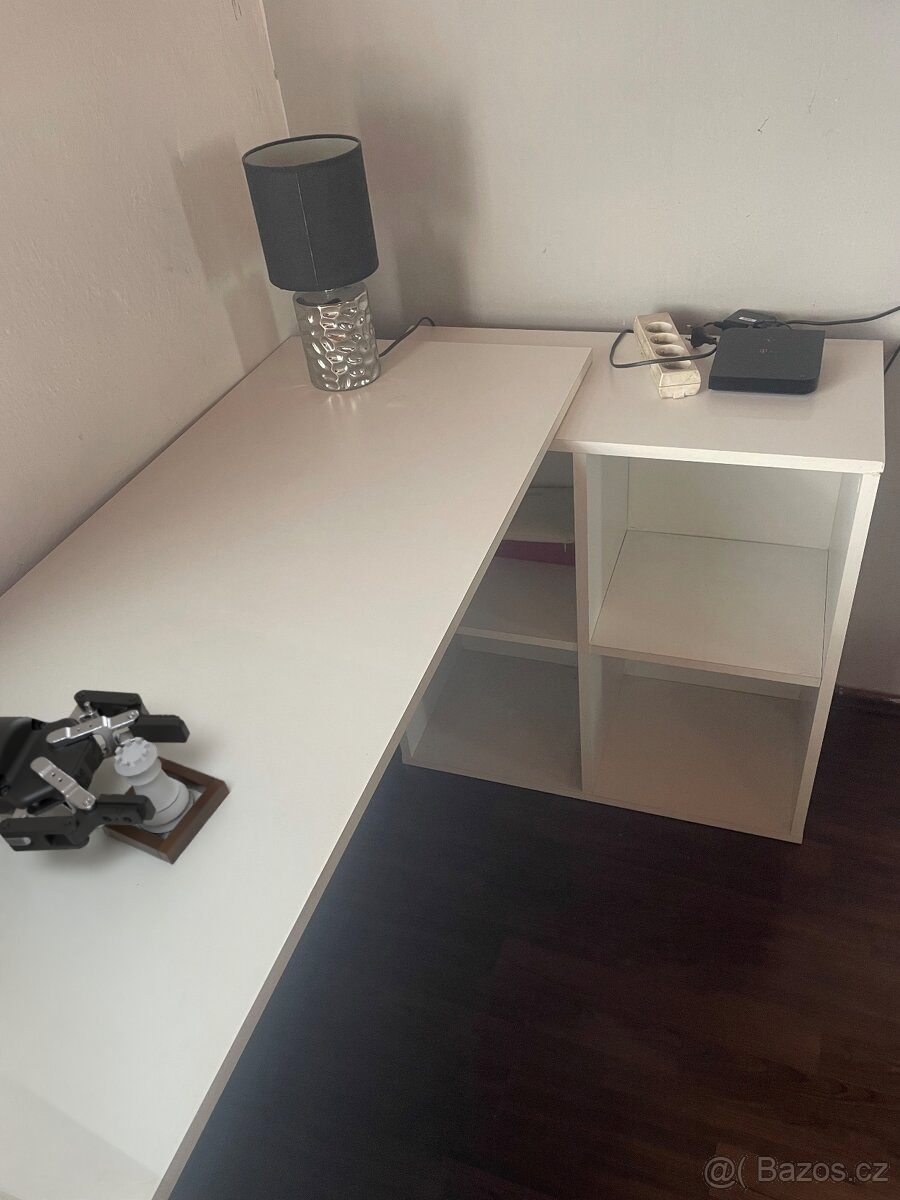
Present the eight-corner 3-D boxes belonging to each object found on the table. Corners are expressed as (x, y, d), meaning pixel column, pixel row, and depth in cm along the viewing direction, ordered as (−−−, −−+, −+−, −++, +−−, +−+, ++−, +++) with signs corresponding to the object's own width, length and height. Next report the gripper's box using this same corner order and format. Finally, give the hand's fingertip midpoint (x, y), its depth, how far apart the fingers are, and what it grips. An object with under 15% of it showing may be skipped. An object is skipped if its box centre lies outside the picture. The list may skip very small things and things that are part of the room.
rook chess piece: (129, 828, 69) (88, 766, 64) (162, 784, 72) (126, 721, 67) (174, 842, 67) (136, 780, 62) (206, 797, 70) (172, 733, 65)
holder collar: (172, 864, 66) (165, 853, 65) (105, 834, 69) (97, 823, 68) (230, 791, 71) (224, 780, 70) (164, 766, 74) (158, 755, 73)
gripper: (-106, 813, 61) (111, 819, 58) (-3, 665, 71) (185, 664, 68) (-51, 871, 66) (151, 879, 63) (38, 724, 76) (215, 726, 73)
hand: (168, 767), depth 65 cm, fingers open, 6 cm apart
